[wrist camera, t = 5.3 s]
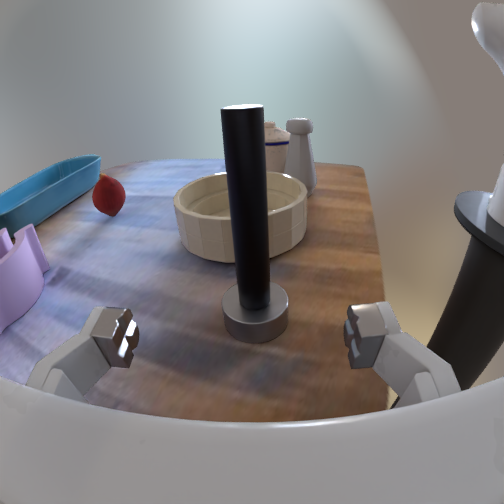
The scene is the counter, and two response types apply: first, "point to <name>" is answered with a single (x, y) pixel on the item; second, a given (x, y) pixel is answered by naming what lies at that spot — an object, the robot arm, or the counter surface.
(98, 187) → the onion
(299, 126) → the salt shaker
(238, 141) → the black tall cylinder post
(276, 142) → the teacup with lid
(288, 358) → the counter surface
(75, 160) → the casserole dish
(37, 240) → the clip
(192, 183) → the bowl
